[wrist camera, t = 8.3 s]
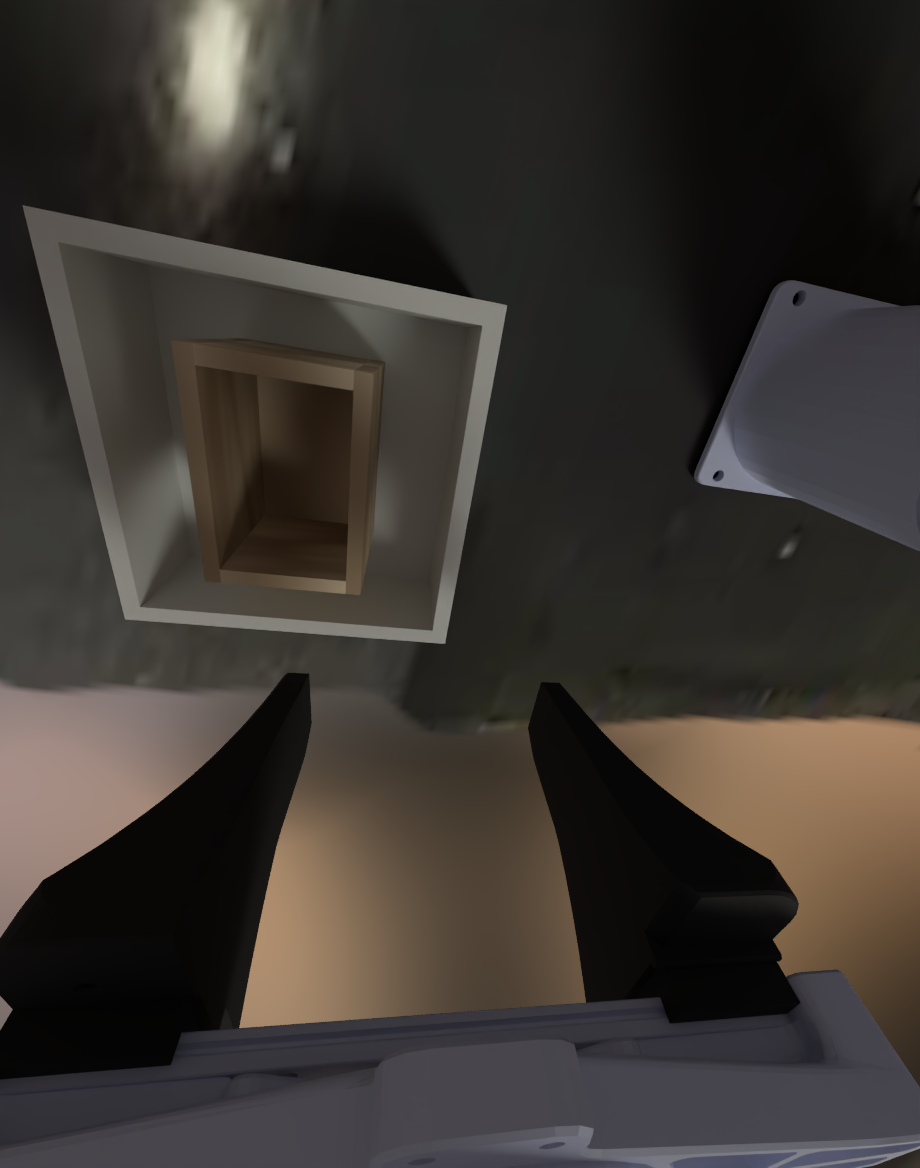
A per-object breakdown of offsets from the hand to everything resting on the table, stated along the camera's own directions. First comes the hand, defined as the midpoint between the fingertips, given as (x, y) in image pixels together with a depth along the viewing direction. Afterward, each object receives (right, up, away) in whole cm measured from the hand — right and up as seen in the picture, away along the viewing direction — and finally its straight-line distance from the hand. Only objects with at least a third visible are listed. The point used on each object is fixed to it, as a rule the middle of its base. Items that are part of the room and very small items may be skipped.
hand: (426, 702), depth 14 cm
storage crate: (-5, +10, +5) cm, 12 cm away
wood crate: (-5, +9, +4) cm, 11 cm away
